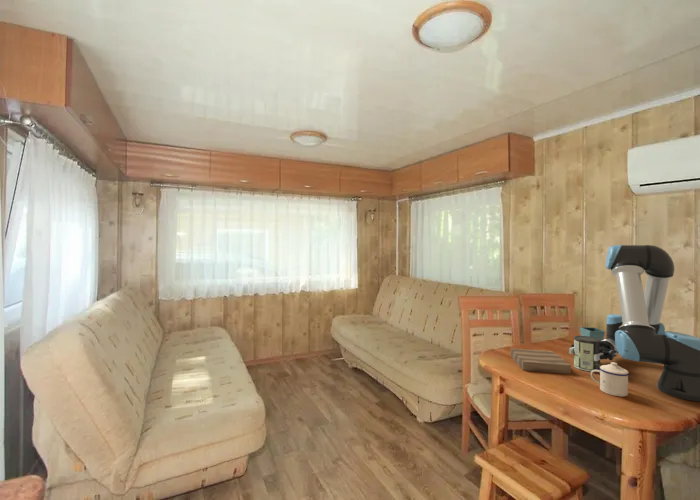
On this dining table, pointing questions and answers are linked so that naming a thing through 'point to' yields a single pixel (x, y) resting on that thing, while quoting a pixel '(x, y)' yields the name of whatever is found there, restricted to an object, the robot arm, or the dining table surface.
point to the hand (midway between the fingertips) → (582, 354)
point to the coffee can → (586, 353)
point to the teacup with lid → (613, 379)
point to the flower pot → (592, 332)
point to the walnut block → (540, 361)
